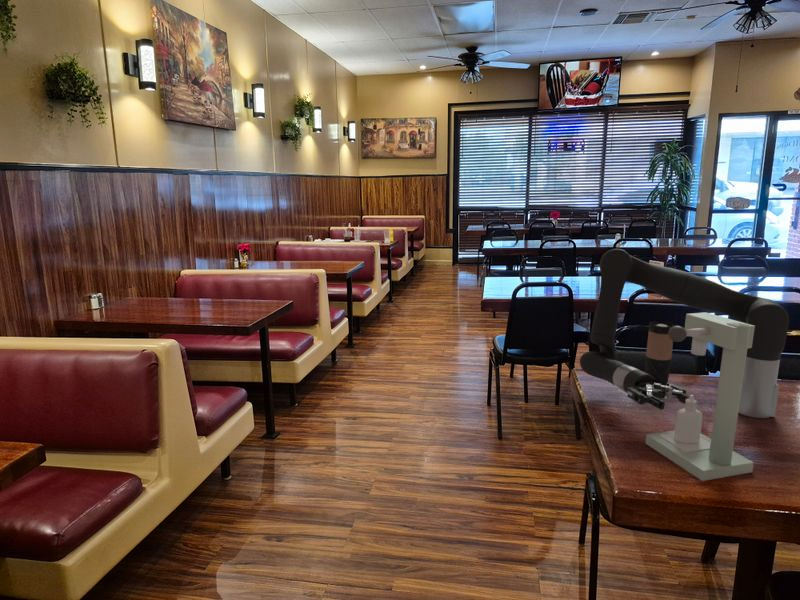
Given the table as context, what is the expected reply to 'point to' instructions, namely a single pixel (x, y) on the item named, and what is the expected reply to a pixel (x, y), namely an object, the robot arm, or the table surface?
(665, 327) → the travel mug
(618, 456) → the table surface
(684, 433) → the eye dropper bottle
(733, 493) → the table surface
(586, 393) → the table surface
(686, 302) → the robot arm
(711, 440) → the arbor press
